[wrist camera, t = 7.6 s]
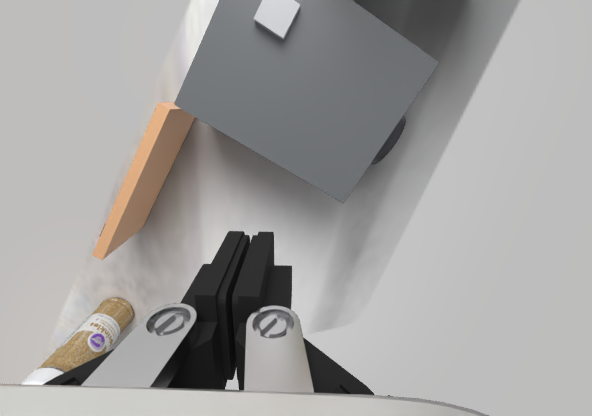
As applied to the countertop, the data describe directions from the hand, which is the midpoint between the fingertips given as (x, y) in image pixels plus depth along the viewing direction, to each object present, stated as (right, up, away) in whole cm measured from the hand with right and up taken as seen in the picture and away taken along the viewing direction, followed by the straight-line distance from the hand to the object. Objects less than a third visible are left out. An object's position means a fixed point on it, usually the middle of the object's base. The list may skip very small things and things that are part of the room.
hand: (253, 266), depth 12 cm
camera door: (-13, +7, +23) cm, 27 cm away
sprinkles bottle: (-22, -12, +30) cm, 39 cm away
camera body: (+2, +15, +20) cm, 25 cm away
